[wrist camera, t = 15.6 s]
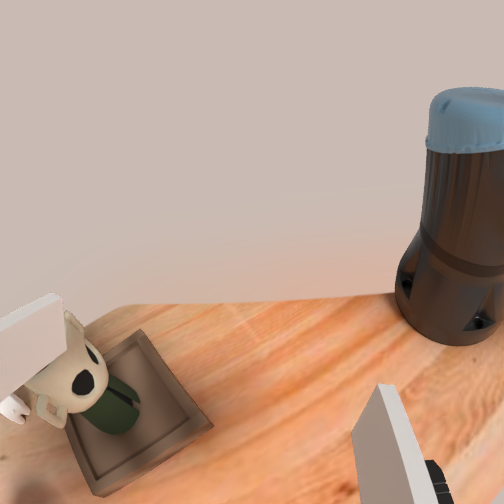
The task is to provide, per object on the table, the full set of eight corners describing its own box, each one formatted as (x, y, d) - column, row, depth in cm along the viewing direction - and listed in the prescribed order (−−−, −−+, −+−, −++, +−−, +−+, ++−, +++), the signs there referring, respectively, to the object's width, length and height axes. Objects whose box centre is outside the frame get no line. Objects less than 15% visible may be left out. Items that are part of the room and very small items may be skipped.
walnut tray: (147, 337, 35) (140, 328, 34) (213, 425, 25) (207, 420, 24) (62, 398, 29) (53, 391, 28) (103, 497, 19) (93, 494, 18)
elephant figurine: (22, 383, 32) (-5, 361, 28) (44, 408, 28) (14, 386, 25) (2, 414, 27) (-25, 394, 24) (23, 443, 24) (-9, 424, 20)
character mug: (145, 458, 22) (49, 406, 14) (89, 454, 23) (-4, 401, 14) (150, 366, 31) (83, 288, 22) (100, 371, 31) (31, 301, 23)
